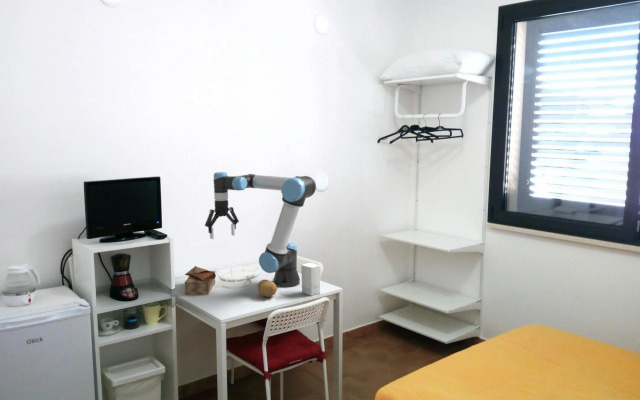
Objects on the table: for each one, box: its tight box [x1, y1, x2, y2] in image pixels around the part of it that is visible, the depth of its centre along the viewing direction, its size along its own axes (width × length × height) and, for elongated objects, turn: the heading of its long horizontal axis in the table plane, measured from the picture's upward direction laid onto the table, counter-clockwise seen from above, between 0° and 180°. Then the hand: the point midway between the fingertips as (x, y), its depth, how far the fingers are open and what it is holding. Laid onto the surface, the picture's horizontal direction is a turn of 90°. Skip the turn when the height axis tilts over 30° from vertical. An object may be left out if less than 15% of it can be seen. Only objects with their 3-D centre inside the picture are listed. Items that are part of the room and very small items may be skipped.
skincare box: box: [300, 262, 321, 297], centre depth 265 cm, size 8×7×16 cm
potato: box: [257, 279, 278, 298], centre depth 261 cm, size 10×14×8 cm
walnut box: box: [184, 270, 216, 296], centre depth 272 cm, size 12×20×7 cm, turn 2°
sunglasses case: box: [184, 265, 217, 281], centre depth 271 cm, size 18×7×7 cm, turn 50°
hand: (222, 237), depth 283 cm, fingers open, 13 cm apart
